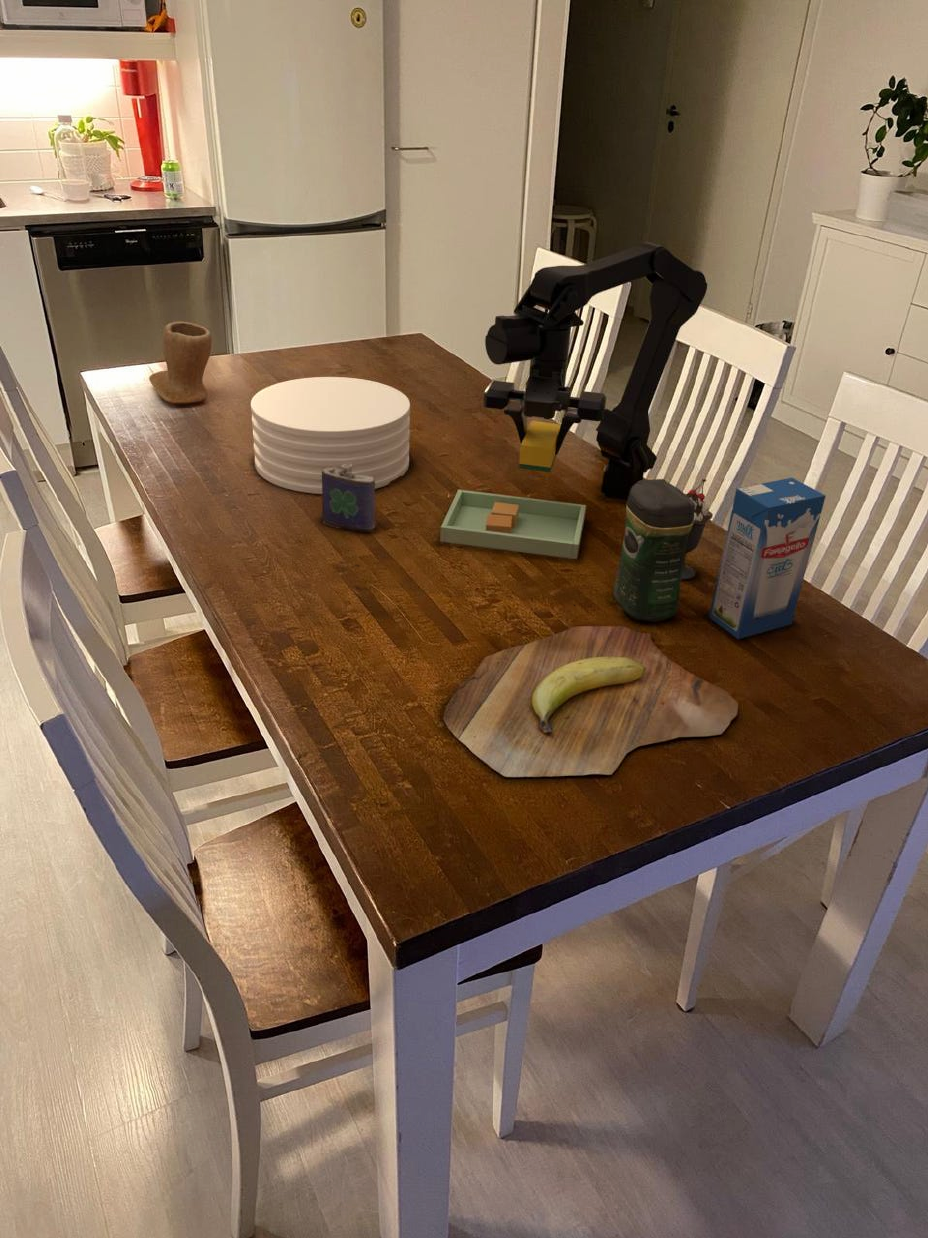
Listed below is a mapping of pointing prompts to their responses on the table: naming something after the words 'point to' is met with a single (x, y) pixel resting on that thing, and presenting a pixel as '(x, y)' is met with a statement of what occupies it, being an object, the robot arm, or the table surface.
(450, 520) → the tray
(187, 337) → the brown boot
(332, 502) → the flask
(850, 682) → the table surface
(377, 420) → the plate stack
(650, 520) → the coffee jar
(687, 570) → the sundae
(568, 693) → the cutting board
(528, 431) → the sponge
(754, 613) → the milk carton
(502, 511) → the block
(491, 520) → the block
